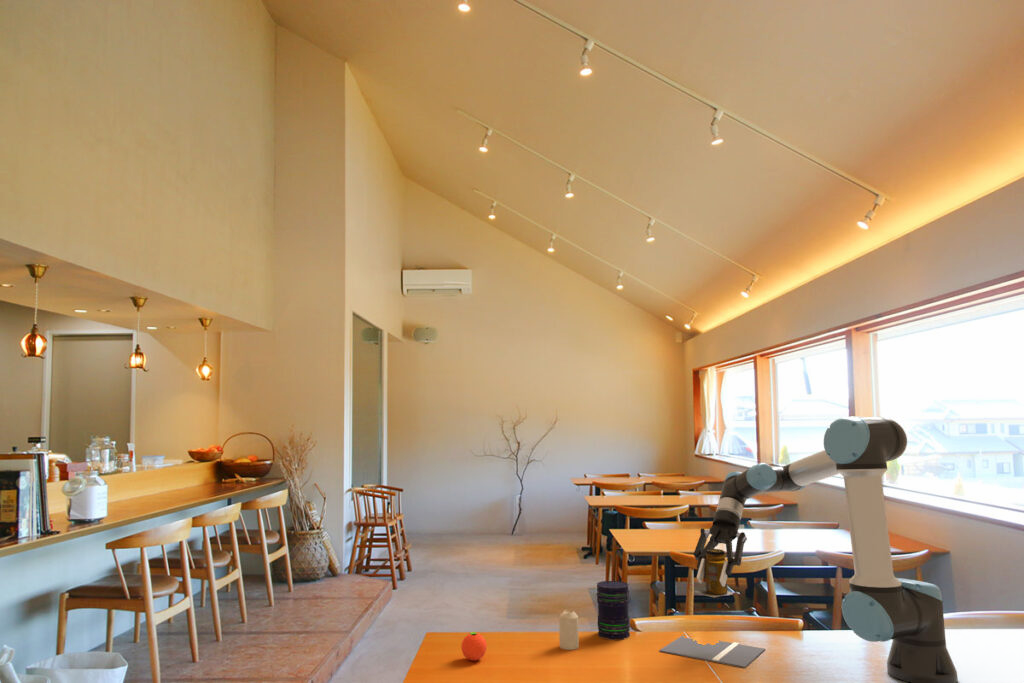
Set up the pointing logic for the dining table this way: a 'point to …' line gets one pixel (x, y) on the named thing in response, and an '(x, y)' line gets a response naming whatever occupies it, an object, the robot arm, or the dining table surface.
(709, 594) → the condiment
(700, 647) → the mat
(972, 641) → the dining table surface
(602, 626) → the storage jar
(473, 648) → the clementine
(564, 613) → the candle
